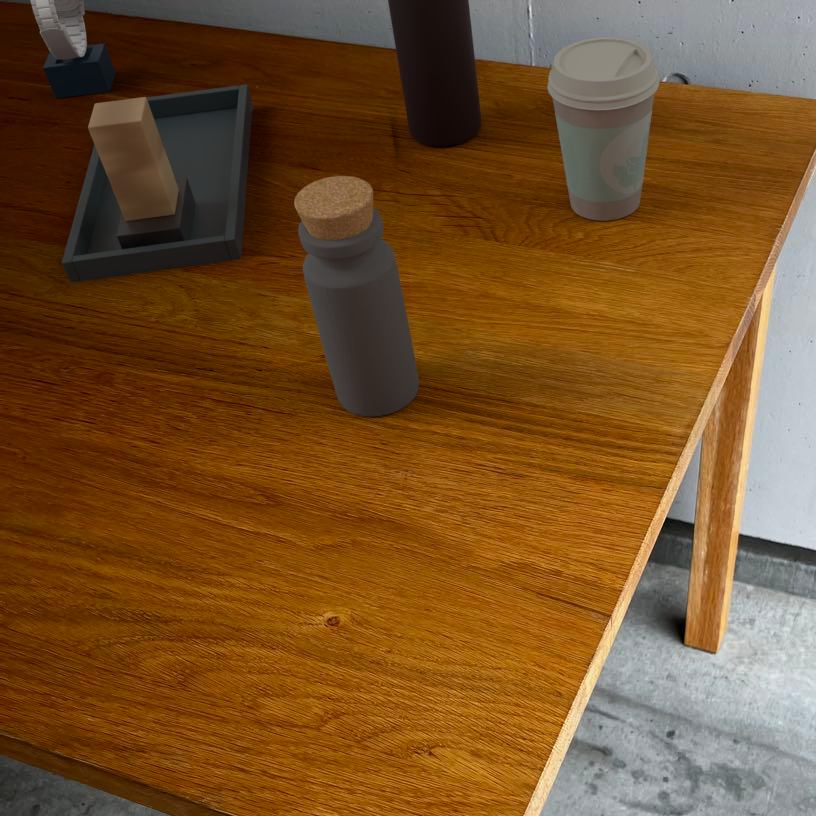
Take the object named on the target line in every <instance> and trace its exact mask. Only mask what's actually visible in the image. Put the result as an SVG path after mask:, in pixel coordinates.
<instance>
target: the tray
mask: <svg viewBox="0 0 816 816" xmlns="http://www.w3.org/2000/svg"><path fill="white" fill-rule="evenodd" d="M146 98H147V101H148V103H149V106H150V109H151V112H152V115H153V118H154V121H155V123H156V126H157V129H158V132H159V135H160V138H161V140H162V143H163V146H164V149H165V152H166V155H167V158H168V160H169V163H170V166H171V169H172V172H173V175H174V177H175V179H178V178H186V177H187V179H188V182H189V185H190V188H191V191H192V194H193V197H194V200H195V209H194V217H193V224H192V232H191V239H190V240H187V241H179V242H172V243H165V244H158V245H150V246H143V247H136V248H129V249H122V248H121V246H120V243H119V241H118V238H117V232H118V228H119V223H120V219H121V214H122V211H121V208H120V206H119V204H118V201H117V199H116V196H115V194H114V191H113V189H112V186H111V184H110V181H109V179H108V176H107V174H106V171H105V169H104V166H103V164H102V161H101V159H100V156H99V154H98V151H97V149H96V146H95V144H94V143H93V144H94V145H93V148H92V153H91V155H90V160H89V163H88V166H87V169H86V174H85V177H84V181H83V184H82V187H81V192H80V195H79V199H78V203H77V206H76V210H75V213H74V216H73V220H72V225H71V228H70V232H69V236H68V239H67V243H66V246H65V249H64V254H63V257H62V261H61V265H62V266H63V268H64V271H65V273H66V275H67V277H68V279H69V281H70V283H78V282H84V281H85V282H86V281H93V280H99V279H106V278H113V277H122V276H127V275H136V274H144V273H149V272H151V273H152V272H158V271H165V270H172V269H178V268H186V267H187V268H188V267H193V266H201V265H206V264H215V263H222V262H229V261H236V260H241V259H242V250H243V238H244V237H243V235H244V222H245V209H246V208H245V207H246V195H247V183H248V170H249V169H248V166H249V153H250V142H251V141H250V139H251V129H252V128H251V126H252V112H254V111H255V108H254V104H253V99H252V96H251V92H250V89H249V85H248V84H239V85H231V86H225V87H223V86H222V87H217V88H209V89H208V88H207V89H201V90H193V91H187V92H179V93H170V94H164V95H162V94H161V95H154V96H148V97H147V96H146Z"/></svg>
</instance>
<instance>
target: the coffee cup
mask: <svg viewBox="0 0 816 816" xmlns="http://www.w3.org/2000/svg"><path fill="white" fill-rule="evenodd" d="M547 81H548V82H547V87H546V88H547V92H548V94H549V95H550V97H551V98H552V103H553V108H554V114H555V120H556V121H555V122H556V126H557V132H558V138H559V146H560V150H561V151H560V152H561V156H562V162H563V169H564V175H565V180H566V186H567V191H568V197H569V202H570V207H571V209H572V210H573V212H574V213H576V214H577V215H578V216H580V217H582V218H584V219H588V220H591V221H598V222H608V221H609V222H610V221H615V220H619V219H622V218H625V217H628V216H630V215H631V214H633V213H634V212H635V211H636V210H637V209H638V208H639V206H640V205H641V204H640V203H641V198H642V191H643V183H644V177H645V175H644V174H645V168H646V161H647V153H648V144H649V138H650V129H651V121H652V115H653V114H652V113H653V108H654V107H653V106H654V98H655V93H656V92H657V90H658V89H659V86H660V77H659V70H658V67H657V66H656V64H655V61H654V57H653V53H652V51H651V50H650V49H649V48H648V47H647V46H646V45H644V44H643V43H641V42H639V41H636V40H633V39H628V38H623V37H613V36H611V37H610V36H605V37H603V36H602V37H592V38H586V39H582V40H578V41H575V42H573V43H570V44H568V45H566V46H564V47H563V48H561V49H560V50H559V51H558V52H557V53H556V54H555V56H554V58H553V61H552V65H551V69H550V71H549V74H548V80H547Z"/></svg>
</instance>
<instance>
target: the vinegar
mask: <svg viewBox="0 0 816 816" xmlns="http://www.w3.org/2000/svg"><path fill="white" fill-rule="evenodd" d="M387 3H388V9H389V15H390V21H391V27H392V34H393V40H394V46H395V52H396V59H397V65H398V71H399V76H400V83H401V90H402V95H403V103H404V108H405V115H406V121H407V126H408V132H409V134H410V136H411V138H412V139H413V140H415V141H416V142H417V143H420V144H421V145H425V146H428V147H436V148H437V147H438V148H445V147H452V146H453V147H454V146H457V145H462V144H464V143H465V142H466V143H467V142H468V141H470V140H472V139H473V138H474V137H476V136H477V135H478V133H479V132H480V130H481V129H482V113H481V112H482V111H481V102H480V94H479V85H478V84H479V83H478V77H477V76H478V74H477V65H476V55H475V47H474V39H473V29H472V20H471V11H470V10H471V9H470V2H469V0H387Z"/></svg>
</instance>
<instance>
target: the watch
mask: <svg viewBox="0 0 816 816" xmlns="http://www.w3.org/2000/svg"><path fill="white" fill-rule="evenodd" d="M30 4H31V8H32V12H33V14H34V18H35V21H36V23H37V25H38V28H39V30H40V31H39V34H40V36H41V38H42V39H43V41H44V43H45V45H46V47H47V48H48V51H49V52H48V55H47V57H46V60H45V62H44V63H43V66H42V70H43V72H44V74H45V77H46V79H47V81H48V83H49V86H50V89H51V91H52V93H53V96H54V99H61V98H62V99H63V98H71V97H79V96H88V95H95V94H104V93H110V92H111V90H112V86H113V84H114V80H115V77H116V71H115V70H116V69H115V68H114V65H113V62H112V59H111V56H110V53H109V50H108V47H107V46H106V43H97V44H88V41H87V40H88V39H87V31H86V24H85V20H84V16H85V15H86V13H85V11H86V10H85V0H30Z"/></svg>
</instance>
